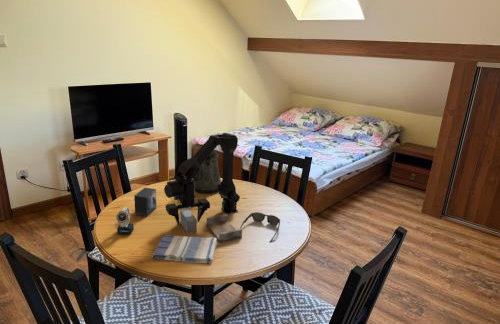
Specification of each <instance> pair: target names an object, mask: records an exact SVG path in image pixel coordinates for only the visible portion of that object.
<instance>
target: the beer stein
mask: <svg viewBox="0 0 500 324" xmlns="http://www.w3.org/2000/svg"><path fill="white" fill-rule="evenodd" d="M218 158H219V154H218V152H217V151H216V150H215V149H214V150H213V151H212V153H211V154H210V155H209V156H208V157H207V158H206V159H205V161H204V162H203V163H202V164H201V166H200V171H199V172H198V174H197V175H196V177H197V178H198V179H199V180H198V181H195V193H198V194H202V195H203V194H204V195H210V194H217V193H218V192H217V191H218V184H220V183H221V182H222V180H221V176H220V170H219V163H218V162H219V161H218Z"/></svg>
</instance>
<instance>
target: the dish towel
mask: <svg viewBox="0 0 500 324" xmlns="http://www.w3.org/2000/svg"><path fill="white" fill-rule="evenodd" d="M217 241H218V239H217V238H216V237H215V236H214V237H202V236H186V235H185V236H184V235H183V236H182V235H177V236H176V235H166V234H163V235H162V237H161V239H160V241H159V243H158V244H157V246H156V248H155V250H154V253H153V254H152V257H151V259H154V260H155V259H156V260H163V261H164V260H165V261H171V262H173V261H174V262H176V261H177V262H183V263H194V264H195V263H200V264H211V263H212V261H213V260H214V256H215V249H216V244H217Z"/></svg>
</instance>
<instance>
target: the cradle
mask: <svg viewBox="0 0 500 324" xmlns="http://www.w3.org/2000/svg"><path fill="white" fill-rule="evenodd" d="M206 227H207V228H208V229H209V230H210V232H211V233H212V234H213V235H214V237H215V238H217V241H219V243H220V244H221V243H225V242H230V241H234V240H239V239H242V237H243V229H242V228H241V229H240V228H238V229H237V228H235V227H234V226H233V224H231V222H230V221H229V214H226V213H225V214H219V215H215V216H209V217H206Z"/></svg>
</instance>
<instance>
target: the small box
mask: <svg viewBox="0 0 500 324" xmlns="http://www.w3.org/2000/svg"><path fill="white" fill-rule="evenodd" d="M133 197H134V216H137V217H143V218H144V217H145V218H147V217H148V216H149V215H150V214H152V213H153V212H154V211H155V210H156V209H157V189H156V188H150V187H143V189H141V190H140V191H138V192H137V193H135V194H134V196H133Z"/></svg>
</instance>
